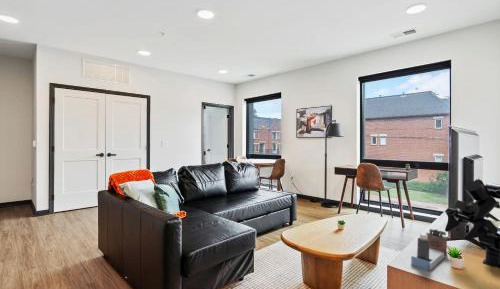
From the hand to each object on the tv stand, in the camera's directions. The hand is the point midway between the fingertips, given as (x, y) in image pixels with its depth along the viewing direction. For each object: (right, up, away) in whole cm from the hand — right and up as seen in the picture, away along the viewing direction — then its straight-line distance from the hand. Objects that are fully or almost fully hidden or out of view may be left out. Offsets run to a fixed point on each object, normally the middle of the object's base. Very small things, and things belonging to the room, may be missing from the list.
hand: (455, 235), depth 107 cm
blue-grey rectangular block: (-8, -12, +4) cm, 15 cm away
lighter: (+2, -13, +14) cm, 19 cm away
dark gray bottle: (-13, -12, 0) cm, 18 cm away
